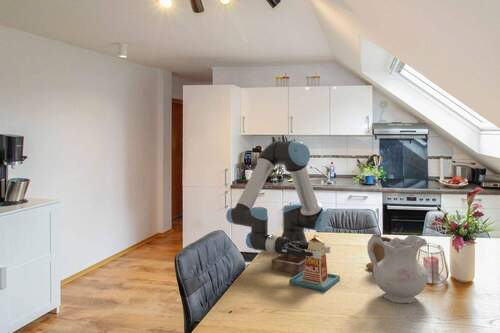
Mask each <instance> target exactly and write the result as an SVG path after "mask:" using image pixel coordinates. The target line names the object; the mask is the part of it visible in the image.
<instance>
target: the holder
mask: <svg viewBox="0 0 500 333" xmlns="http://www.w3.org/2000/svg"><path fill="white" fill-rule="evenodd" d="M270 262H271V264H270V266H271V268H270V269H271V270H274V271H280V272H285V273H291V274H294V275H297V274H299V273H300V272H302V271H304V268H305V262H306V256H305V258H303V256H302V257H301V258H300V257H297V256H293V255H289V254H284V255H283V254H279V255H277V256H275V257H273V258H271V260H270Z"/></svg>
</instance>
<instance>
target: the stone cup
mask: <svg viewBox="0 0 500 333" xmlns="http://www.w3.org/2000/svg"><path fill="white" fill-rule="evenodd" d="M381 238H382V241H383V242H384V241H386V242H390V241H391V240H392V239H393V238H390V237H388V236H381ZM373 253H374V255H375V258H376V262H377V263H379V262H380V261H382V260H383V259H384V257H385V250H384V247H382V246H381V245H380V244H379V243H375V244H374V245H373ZM365 268H367V269H369V270H371V271H373V264H372V262H371V261H370V262H368V263H367V264H365Z"/></svg>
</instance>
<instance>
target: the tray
mask: <svg viewBox="0 0 500 333" xmlns="http://www.w3.org/2000/svg"><path fill="white" fill-rule="evenodd" d="M303 272H304V271H302V272H300V273H299V274H295V275H294V276H293V277H291V278H290V279H289V280H288V283H289V285H291V286H295V287H298V288H299V287H300V288H304V289H309V290H314V291H318V292H322V293H326V292H327V291H329V289H331V288H332V287H333V286H335V285H336V284H337V283H339V282H340V280H341V276H340V275H339V274H334V273H330V272H329V273H328V272H327V273H328V279H327V281H326V282H325V283H324V284H323V285H318V284H313V283H309V282H304V281H301V280H302V276H303Z"/></svg>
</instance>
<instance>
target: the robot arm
mask: <svg viewBox="0 0 500 333" xmlns="http://www.w3.org/2000/svg"><path fill="white" fill-rule="evenodd" d="M310 154H311V153H310V150H309V147H308V146H307V144H306V143H304V142H302V141H298V140H292V141H286V140H285V141H283V140H282V141H279V140H277V141H273V142H272V143H269V144H268V145H267V146H266V147H265V148H264V149H263V150H262V151H261V153H260V154H259V155H258V158H257V159H256V165H255V167H254V170H253V171H252V173H251V176H250V177H249V180H248V181H247V183H246V185H245V186H244V189H243V191H242V193H241V195H240V197H239V198H238V201H237V202H236V205H235V206H234V207H230V208H229V209H228V210H227V211H226V216H225V218H226V221H227V222H229V223H230V224H233V225H238V226H244V227H247V228H248V227H249V228H250V230H251V231H250V232H248V233H247V235H246V239H245V245H246V246H247V247H248V248H249V249H250V250H251V249H252V250H255V251H256V250H257V251H263V252H268V253H272V254H279V255H281V254H283V255H284V254H289V255H293V256H297V257H300V258H301V257H302V256H303V258H305V256H306V257H312V258H318V259H321V252H318V251H312V250H307V249H308V245H309V241H308V240H307V238H306V234H305V229H306V230H312V231H315V232H317V231H318V232H319V231H320V232H323V231H325V229H326V228H327V227H328V224H329V220H330V213H329V211H328V210H327V209H323V206H322V204H321V203H320V202H319V201H318V199H317V196H316V194H315V191H314V187H313V183H312V181H311V177H310V175H309V172H308V169H307V166H308V164H309V161H310V158H311V157H310ZM277 165H284V168H285V170H286V172H288V173H289V174H290V176H291V179H292V181H293V184H294V188H295V190H296V195H297V196H298V199H299V203H291V204H289V203H288V204H286V205H284V206H283V210H282V211H283V212H282V219H283V220H282V222H283V223H282V224H283V226H282V227H283V228H282V230H283V231H282V233H281V236H278V235H274V234H268V232H269V231H268V228H269V227H268V226H269V225H268V223H269V222H268V220H269V216H268V209H267V208H266V207H262V206H254V205H255V202H256V200H257V199H258V197H259V195H260V193H261V190H262V189H263V186H264V184H265V182H266V180H267V178H268V176H269V175H270V173H271V171H273V170H274V169H275V167H276V166H277ZM325 251H326V254H331V246H329V245H325Z"/></svg>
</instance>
